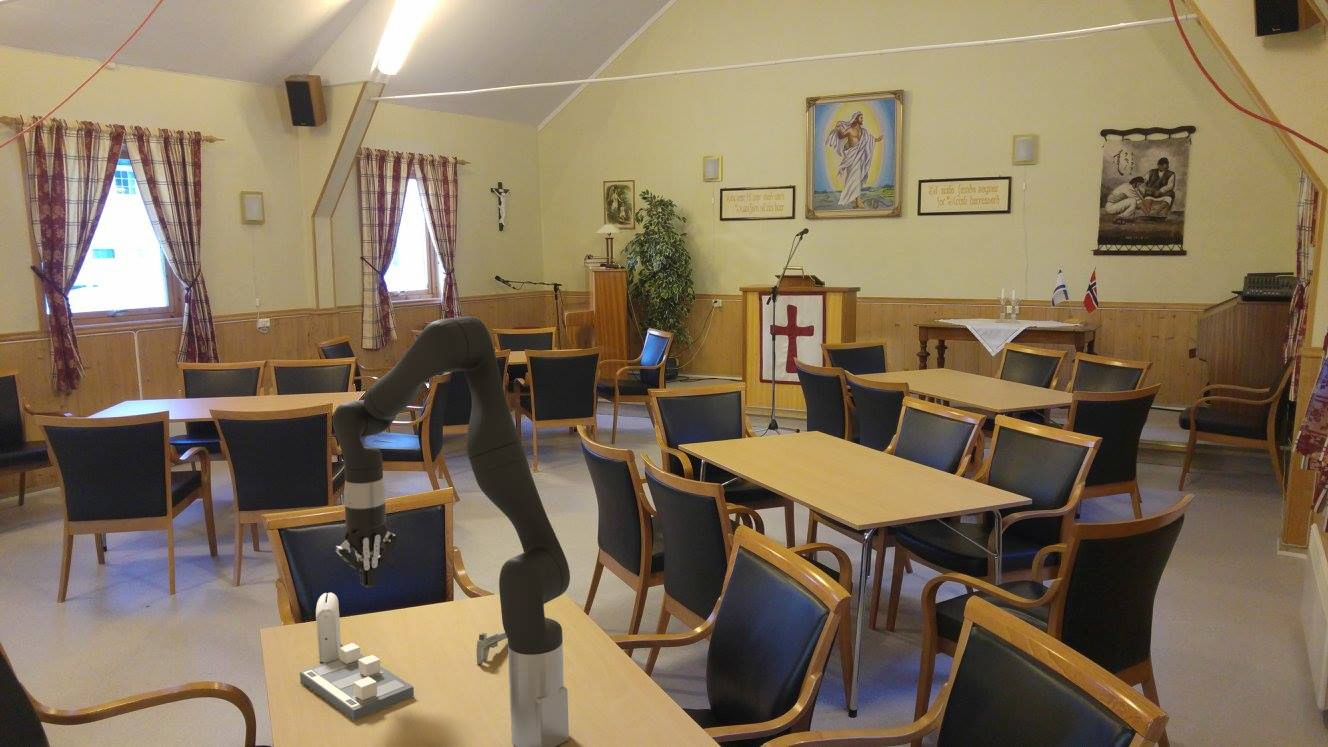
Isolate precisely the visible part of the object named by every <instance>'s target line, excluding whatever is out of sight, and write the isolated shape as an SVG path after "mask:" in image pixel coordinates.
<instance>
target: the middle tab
mask: <svg viewBox="0 0 1328 747" xmlns="http://www.w3.org/2000/svg"><path fill="white" fill-rule="evenodd" d="M358 666H359V672H360V673H361V674H363V675H364V676H366V677H367V676H370V675H373V674H375V673H378V672H381V667H382V666H381V658H379V657H377V656H375V655H374V654H370V655H368V656H365V657H364V658H362V659H359V660H358ZM380 666H381V667H380Z"/></svg>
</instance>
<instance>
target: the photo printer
mask: <svg viewBox="0 0 1328 747" xmlns="http://www.w3.org/2000/svg"><path fill="white" fill-rule="evenodd" d="M339 605H340V604H339V599H338V596H337V595H336V594H335V593H333V592H328V593H327V592H324V593H323V594H321V595H320V596H319V598H318V599H317V602H316V608H315V620H316V621H315V623H316V631H317V632H316V636H317V648H318V649H317V652H318V659H319V660H318V661H319V662H322V664H323V663H326V662H329V661H332V660H335V659H338V658H339V647H342V645H341V642H342V639H341V638H342V636H341V620H340V619H341V618H340V609H339V607H340V606H339Z"/></svg>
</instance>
